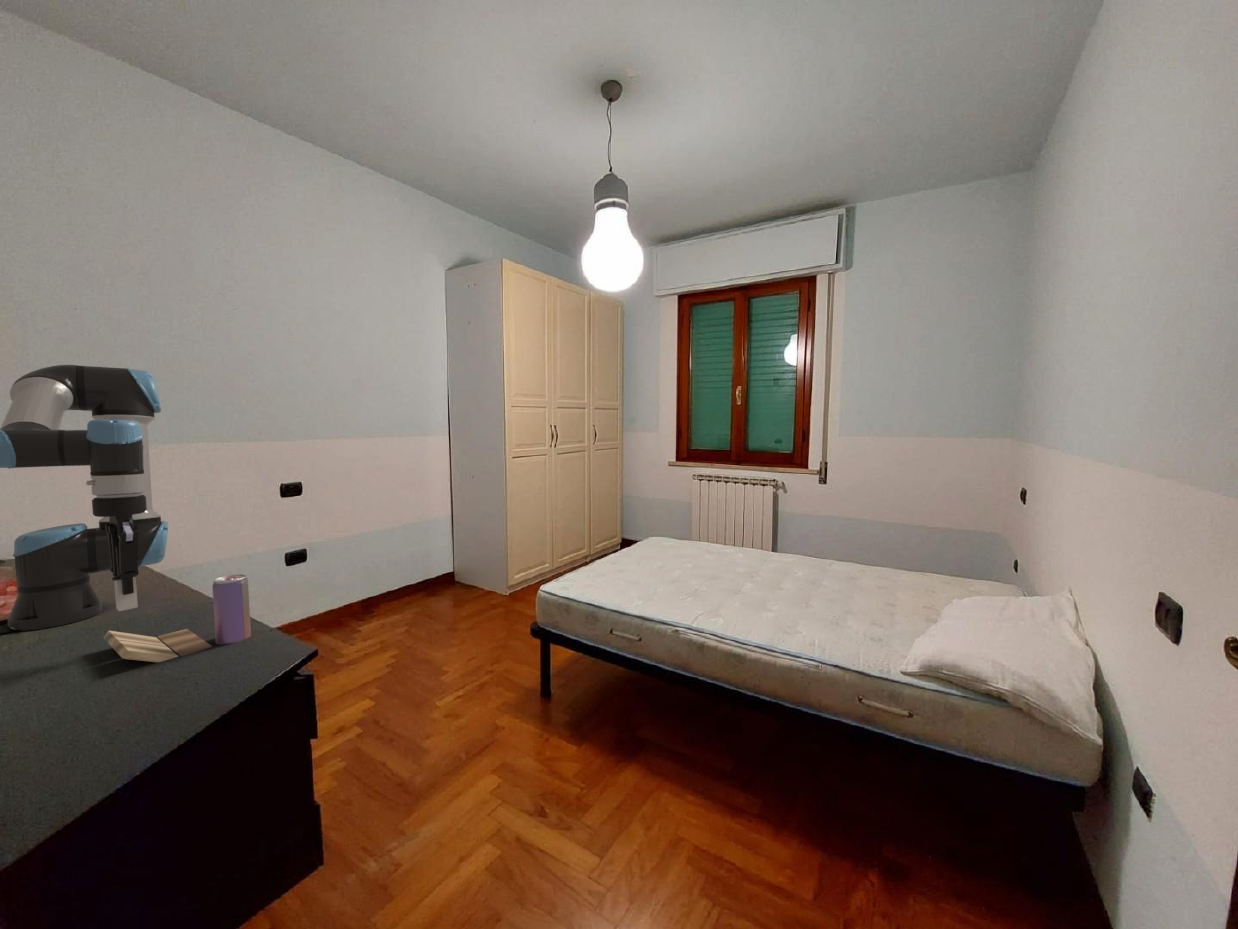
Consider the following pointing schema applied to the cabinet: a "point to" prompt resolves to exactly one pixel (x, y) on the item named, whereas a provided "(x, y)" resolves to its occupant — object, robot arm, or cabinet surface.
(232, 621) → the beverage can
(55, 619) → the robot arm
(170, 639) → the laid board
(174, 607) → the cabinet surface
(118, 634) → the oak plank
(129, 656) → the oak plank
